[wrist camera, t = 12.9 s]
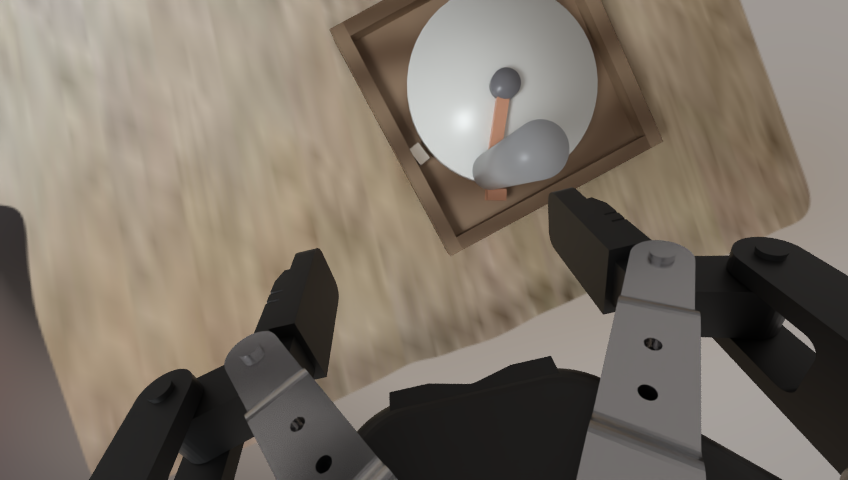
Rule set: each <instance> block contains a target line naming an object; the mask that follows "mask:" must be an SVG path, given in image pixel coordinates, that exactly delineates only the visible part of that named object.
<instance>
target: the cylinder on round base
mask: <svg viewBox="0 0 848 480" xmlns="http://www.w3.org/2000/svg"><path fill="white" fill-rule="evenodd" d="M597 87H598V77H597V67H596V62H595V58H594V54H593V51H592V48H591V45H590V43H589V40H588V38H587V36H586V34H585V33H584V31H583V29H582V28H581V26H580V25H579V23H578V22H577V20H576V19H575V18H574V17H573V16H572V15H571V13H570V12H569V11H568V10H567V9H566V8H564V7H563V6H562V5H561V4H560V3H559V2H557V1H556V0H449V1H448V2H447V3H446V4H445V5H443V6H442V7H441V8H440V9H439V10H438V11H437V12H436V13H435V14H434V15H433V16H432V17H431V18H430V19H429V21H428V22H427V24H426V25H425V26H424V28H423V29H422V31H421V33H420V35H419V37H418V39H417V41H416V43H415V46H414V48H413V51H412V54H411V58H410V62H409V67H408V76H407V99H408V106H409V112H410V115H411V119H412V122H413V125H414V127H415V129H416V132H417V134H418V136H419V137H420V139H421V141H422V143H423V144H424V146H425V147H426V148H427V150H428V151H429V152H430V153H431V155H432V156H433V157H434V158H435V159H436V160H437V161H438V162H439V163H441V164H442V165H443V166H445V167H446V168H447V169H449V170H450V171H452V172H454V173H455V174H457V175H459V176H461V177H464V178H466V179H468V180H471V181H475V182H476V183H477V184H478V185H479V186H480V187H482V188H484V189H487V190H495V189H500V188H505V187H510V186H515V185H520V184H525V183H530V182H535V181H540V180H545V179H549V178H551V177H553V176H555V175H556V174H558V173H559V172H560V171H561V170H562V169H563V167H564V166H565V164H566V162H567V160H568V157H569V154H570V153H571V152H572V151H573V150H574V149H575V147H576V146H577V145H578V143H579V142H580V141H581V139H582V137H583V135H584V134H585V132H586V130H587V128H588V126H589V123H590V121H591V119H592V116H593V112H594V108H595V105H596V98H597Z"/></svg>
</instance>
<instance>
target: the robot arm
mask: <svg viewBox="0 0 848 480" xmlns="http://www.w3.org/2000/svg"><path fill="white" fill-rule="evenodd" d="M548 215H549V236H550V240H551V243H552V245H553V247H554V249H555V250H556V252H557V253H558V254H559V256H560V257H561V258H562V260H563V261H564V262H565V264H566V265H567V266H568V268H569V269H570V271H571V272H572V273H573V275H574V276H575V277H576V279H577V280H578V281H579V283H580V284H581V285H582V287H583V288H584V289H585V291H586V292H587V293H588V295H589V296H590V297H591V299H592V300H593V301H594V303H595V304H596V305H597V307H598V308H599V309H600V311H601V312H602V313H603V314H607V313H612V312H615V315H614V320H613V325H612V329H611V333H610V338H609V343H608V347H607V351H606V356H605V361H604V365H603V370H602V374H601V378H600V377H597V376H595V375H592V374H589V373H585V372H581V371H577V370H571V369H560V368H559V369H558V368H557V367H556V365H555V363H554V361H553V359H552V357H551V356H548V357H544V358H540V359H535V360H531V361H526V362H522V363H518V364H513V365H510V366H508V367H506V368H504V369H502V370H500V371H498V372H496V373H494V374H492V375H490V376H488V377H486V378H484V379H482V380H479V381H477V382H475V383H472V384H425V385H420V386H416V387H412V388H407V389H402V390H398V391H394V392H390V406H389V407H387V408H385V409H384V410H382V411H380V412H379V413H377V414H376V415H374V416H373V417H372V418H371V419H369V420H368V421H367V422H366V423H365V424H364V425H363V426H362V427H361V428H360V429H359V430H358V431H356V430H355V429H354V428H353V427H352V426H351V424H350V423H349V422H348V421H347V419H346V418H345V417H344V416H343V415H342V413H341V412H340V411H339V410H338V408H337V407H336V406H335V405H334V403H333V402H332V401H331V400H330V398H329V397H328V396H327V395H326V394H325V392H324V391H323V390H322V389H321V387H320V386H319V385H318V384H317V383H316V381H315V379H319V378H324V377H327V371H328V365H329V358H330V352H331V345H332V339H333V332H334V326H335V319H336V313H337V306H338V299H339V294H338V288H337V284H336V281H335V279H334V277H333V275H332V273H331V271H330V268H329V266H328V264H327V262H326V260H325V258H324V256H323V253H322V252H321V250H320V249H319V248H316V249H312V250H308V251H303V252H299V253H296V254H295V257H294V260H293V262H292V265H291V268H290V269H289V270H285V271H284V272H283V273H282V274H281V275H280V276H279V278H278V279H277V280H276V281H275V283H274V285H273V288H272V290H271V295H269V297H268V300H267V304H266V305H265V307H264V310H263V312H262V315H261V317H260V320H259V322H258V325H257V327H256V330H255V332H254V334H251V335H249V336H247V337H246V338H244V339H243V340H241V341H240V342H239V343H237V344H236V345H235V346H234V347H233V348H232V349H231V351H230V352H229V353H228V355H227V357H226V359H225V363H224V365H223V366H221V367H219V368H217V369H215V370H213V371H211V372H209V373H207V374H204V375H202V376H200V377H198V378H196V377H195V376H194V375H193V374H192V373H191V372H190V371H189V370H187V369H177V370H174V371H171V372H168V373H166V374H164V375H162V376H161V377H159V378H158V379H156V380H155V381H153V382H152V383H151V384H150V385H148V386H147V387H146V388H145V389H144V390H143V391H142V393H141V394H140V395H139V396H138V398H137V399H136V401H135V402H134V404H133V406H132V408H131V409H130V411H129V413H128V414H127V416H126V418H125V419H124V421H123V423H122V425H121V426H120V428H119V430H118V431H117V433H116V435H115V436H114V438H113V440H112V442H111V443H110V445H109V447H108V448H107V450H106V452H105V453H104V455H103V457H102V459H101V460H100V462H99V464H98V465H97V467H96V469H95V471H94V472H93V474H92V476H91V477H90V479H89V480H168V477H169V474H170V472H171V470H172V467H173V465H174V462H175V460H176V458H177V455H178V453H180V454H181V455H182V456H183V458H182V461H181V463H180V466H179V468H178V471H177V473H176V476H175V479H174V480H234V477H235V474H236V470H237V466H238V463H239V459H240V455H241V452H242V448H243V444H244V442H245V441H247V440H249V439H251V438H252V437H255V439H256V441H257V443H258V445H259V446H260V448H261V450H262V452H263V454H264V456H265V458H266V460H267V462H268V464H269V466H270V468H271V470H272V472H273V474H274V476H275V478H276V480H782V479H780V478H779V477H777V476H775V475H773V474H771V473H770V472H768V471H766V470H764V469H763V468H761V467H759V466H757V465H755V464H754V463H752V462H750V461H748V460H747V459H745V458H743V457H741V456H739V455H738V454H736V453H734V452H733V451H731V450H729V449H727V448H725V447H724V446H722V445H720V444H718V443H717V442H715V441H713V440H711V439H709V438H708V437H706V436H704V435H702V434H701V337H712V338H713V339H714V340H715V341H716V342H717V343H718V344H719V345H720V346H721V347H722V348H723V349H724V351H725V352H726V353H727V354H728V355H729V356H730V357H731V358H732V359H733V360H734V361H735V362H736V363H737V364H738V366H739V367H740V368H741V369H742V370H743V371H744V372H745V373H746V374H747V375H748V376H749V377H750V378H751V379H752V381H753V382H754V383H755V384H757V386H758V387H759V388H760V389H761V390H762V391H763V392H764V393H765V394H766V395H767V397H768V398H769V399H770V400H771V401H772V402H773V403H774V404H775V405H776V406H777V407H778V408H779V409H780V410H781V412H782V413H783V414H784V415H785V416H786V417H787V418H788V419H789V420H790V421H791V422H792V423H793V424H794V425H795V427H796V428H797V429H798V430H799V431H800V432H801V433H802V434H803V435H804V436H805V437H806V438H807V439H808V440H809V441H810V443H812V445H813V446H814V447H815V448H816V449H817V450H818V451H819V452H820V453H821V454H822V455H823V456H824V457H825V459H826V460H827V461H828V462H829V463H830V464H831V465H832V466H833V467H834V468H835V469H836V470H837V471H838V473H839V474H840V475H841V477H840V480H848V276H847V275H846V274H844V273H842V272H841V271H839V270H837V269H836V268H834V267H832V266H831V265H829V264H827V263H826V262H824V261H822V260H821V259H819V258H817V257H815V256H814V255H812V254H811V253H809V252H807V251H805V250H804V249H802V248H801V247H799V246H796V245H794V244H792V243H789V242H786V241H783V240H778V239H774V238H767V237H750V238H744V239H741V240H739V241H737V242H735V243H734V244H733V246H732V249H731V252H730V255H729V256H694V255H693V254H692V252H691V251H689V250H688V249H687V248H685V247H683V246H681V245H679V244H676V243H673V242H669V241H661V240H651V239H650V238H648V237H647V236H646V235H645V234H643V233H642V232H641V231H640V230H639V229H637V228H636V227H635V226H634V225H633V224H631V223H630V222H629V221H628V220H627V219H626V220H625V219H624V217H623V216H622V215H621V214H619V213H617V212H616V210H614V209H613V208H612V207H611V206H610V205H608V204H607V203H605V202H603V201H600V200H597V199H595V198H588V199H586V198H585V197H584V196H583V195H582V194H581V193H580V192H578V191H577V190H576V189H575V188H573V187H571V188H567V189H563V190H559V191H555V192H551V193H550V194H549V196H548ZM785 319H787V320H788V321H789V322H790V323H792V324H793V325H794V326H795V327H797V328H798V329H799V330H800V331H801V332H803V333H804V334H805V335H806V336H807V337H808V338H809V339H810V341H811V342H812V343H813V345H814V348H815V351H816V353H815V352H814V351H813V350H811V349H810V348H809V347H808V346H807V345H805V344H804V343H803V342H802V341H801V340H799V339H798V338H797V337H796V336H795V335H793V334H792V333H791V332H790V331H789V330H787V329H786V328H785V327H784V326H783V325H782V324H783V322H784V320H785Z"/></svg>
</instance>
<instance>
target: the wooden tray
mask: <svg viewBox="0 0 848 480" xmlns="http://www.w3.org/2000/svg"><path fill="white" fill-rule="evenodd" d="M448 1H449V0H383V1H381V2H379V3H377V4H375V5H373V6H372V7H370V8H368V9H366V10H364V11H362V12H360V13H359V14H357V15H355V16H353V17H351V18H349V19H348V20H346V21H344V22H342V23H340V24H338V25H336V26H335V27H333V28H331V29H330V31H331V34H332V36H333V38H334V41H335V43H336V45H337V47H338V48H339V50H340V52H341V54H342V56H343V58H344V60H345V62H346V63H347V65H348V67H349V69H350V71H351V73H352V75H353V77H354V78H355V80H356V82H357V84H358V86H359V88H360V90H361V92H362V93H363V95H364V97H365V99H366V101H367V103H368V105H369V107H370V108H371V110H372V112H373V114H374V116H375V118H376V120H377V122H378V123H379V125H380V127H381V129H382V131H383V133H384V135H385V136H386V138H387V140H388V142H389V144H390V146H391V148H392V150H393V151H394V153H395V155H396V157H397V159H398V161H399V163H400V165H401V166H402V168H403V170H404V172H405V174H406V176H407V178H408V180H409V181H410V183H411V185H412V187H413V189H414V191H415V193H416V195H417V196H418V198H419V200H420V202H421V204H422V206H423V208H424V209H425V211H426V213H427V215H428V217H429V219H430V221H431V223H432V224H433V226H434V228H435V230H436V232H437V234H438V236H439V238H440V239H441V241H442V243H443V245H444V247H445V249H446V251H447V253H448V254H449V255H450V256H452V255H453V254H455V253H457V252H459V251H461V250H463V249H465V248H466V247H468V246H470V245H472V244H474V243H476V242H477V241H479V240H481V239H483V238H485V237H487V236H489V235H490V234H492V233H494V232H496V231H498V230H500V229H502V228H503V227H505V226H507V225H509V224H511V223H513V222H515V221H516V220H518V219H520V218H522V217H524V216H526V215H527V214H529V213H531V212H533V211H535V210H537V209H539V208H540V207H542V206H544V205H546V204H548V196H549V194H550V193H551V192H555V191H559V190H563V189H567V188H571V187H573V188H575V189H576V188H577V187H579V186H581V185H583V184H585V183H587V182H589V181H590V180H592V179H594V178H596V177H598V176H600V175H602V174H603V173H605V172H607V171H609V170H611V169H613V168H615V167H616V166H618V165H620V164H622V163H624V162H626V161H627V160H629V159H631V158H633V157H635V156H637V155H639V154H640V153H642V152H644V151H646V150H648V149H650V148H652V147H653V146H655V145H657V144H659V143H661V142H663V140H662V137H661V135H660V133H659V131H658V128H657V126H656V124H655V122H654V119H653V117H652V115H651V113H650V110H649V108H648V106H647V103H646V101H645V99H644V97H643V94H642V92H641V90H640V88H639V85H638V83H637V81H636V79H635V76H634V74H633V72H632V70H631V67H630V65H629V63H628V61H627V58H626V56H625V54H624V52H623V49H622V47H621V45H620V43H619V40H618V38H617V36H616V33H615V31H614V29H613V27H612V24H611V22H610V20H609V18H608V15H607V13H606V11H605V9H604V6H603V4H602V2H601V0H556V1H557V2H559V3H560V4H561V5H562V6H563V7H564V8H566V9H567V10H568V11H569V12H570V13H571V15H572V16H573V17H574V18H575V19H576V20H577V22H578V23H579V25H580V26H581V28H582V29H583V31H584V33H585V34H586V36H587V38H588V40H589V43H590V45H591V48H592V51H593V54H594V58H595V62H596V67H597V77H598V87H597V98H596V105H595V108H594V112H593V116H592V119H591V121H590V123H589V126H588V128H587V130H586V132H585V134H584V135H583V137H582V139H581V141H580V142H579V143H578V145H577V146H576V147H575V149H574V150H573V151H572V152H571V153H570V154H569V157H568V160H567V162H566V164H565V166H564V167H563V169H562V170H561V171H560V172H559V173H558V174H556V175H555V176H553V177H551V178H549V179H545V180H540V181H535V182H530V183H525V184H520V185H515V186H510V187H505V188H500V189H495V190H487V189H484V188H482V187H480V186H479V185H478V184H477V183H476V182H475V181H471V180H468V179H466V178H464V177H461V176H459V175H457V174H455V173H454V172H452V171H450V170H449V169H447V168H446V167H445V166H443V165H442V164H441V163H439V162H438V161H437V160H436V159H435V158H434V157H433V156H432V155H431V153H430V152H429V151H428V150H427V148H426V147H425V146H424V144H423V143H422V141H421V139H420V137H419V136H418V134H417V132H416V129H415V127H414V125H413V122H412V119H411V115H410V112H409V106H408V99H407V76H408V67H409V62H410V58H411V54H412V51H413V48H414V46H415V43H416V41H417V39H418V37H419V35H420V33H421V31H422V29H423V28H424V26H425V25H426V24H427V22H428V21H429V19H430V18H431V17H432V16H433V15H434V14H435V13H436V12H437V11H438V10H439V9H440V8H441V7H442V6H443V5H445V4H446V3H447V2H448Z"/></svg>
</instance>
